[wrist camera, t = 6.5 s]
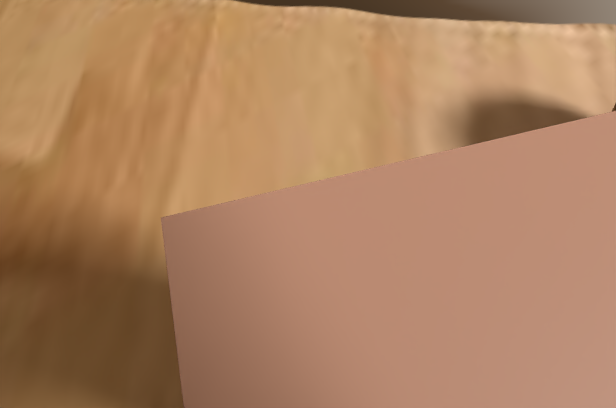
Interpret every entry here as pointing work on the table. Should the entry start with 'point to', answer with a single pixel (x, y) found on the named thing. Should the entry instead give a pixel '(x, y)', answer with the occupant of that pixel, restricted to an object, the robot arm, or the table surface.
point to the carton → (409, 282)
